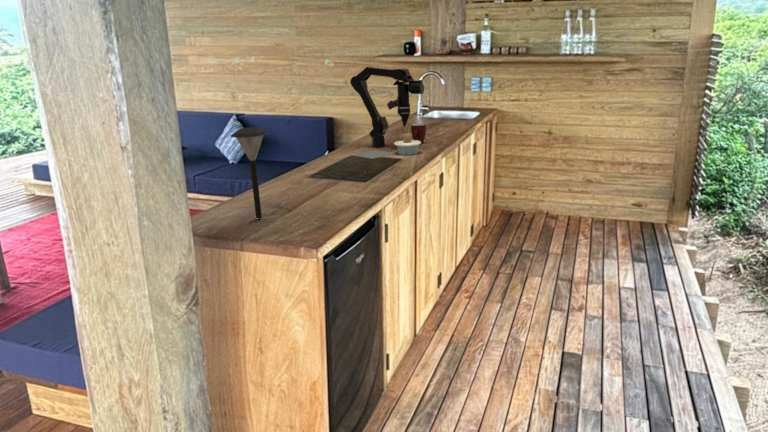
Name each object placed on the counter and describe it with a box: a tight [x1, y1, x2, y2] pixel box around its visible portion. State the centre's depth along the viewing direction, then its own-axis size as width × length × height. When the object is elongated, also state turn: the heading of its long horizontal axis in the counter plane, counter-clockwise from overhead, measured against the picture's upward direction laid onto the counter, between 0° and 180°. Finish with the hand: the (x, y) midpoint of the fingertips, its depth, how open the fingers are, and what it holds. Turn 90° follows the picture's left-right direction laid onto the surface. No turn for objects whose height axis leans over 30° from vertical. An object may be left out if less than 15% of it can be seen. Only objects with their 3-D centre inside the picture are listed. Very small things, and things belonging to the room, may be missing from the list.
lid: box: [393, 133, 422, 147], centre depth 293 cm, size 13×13×5 cm
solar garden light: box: [230, 126, 270, 219], centre depth 194 cm, size 12×12×30 cm
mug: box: [410, 123, 427, 144], centre depth 320 cm, size 11×8×10 cm
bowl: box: [396, 145, 420, 156], centre depth 294 cm, size 10×10×5 cm
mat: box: [352, 149, 397, 160], centre depth 296 cm, size 16×16×1 cm
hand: (404, 125), depth 306 cm, fingers open, 9 cm apart
